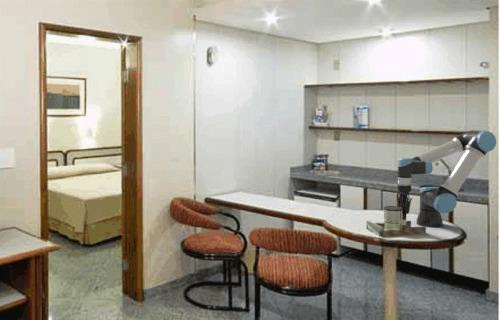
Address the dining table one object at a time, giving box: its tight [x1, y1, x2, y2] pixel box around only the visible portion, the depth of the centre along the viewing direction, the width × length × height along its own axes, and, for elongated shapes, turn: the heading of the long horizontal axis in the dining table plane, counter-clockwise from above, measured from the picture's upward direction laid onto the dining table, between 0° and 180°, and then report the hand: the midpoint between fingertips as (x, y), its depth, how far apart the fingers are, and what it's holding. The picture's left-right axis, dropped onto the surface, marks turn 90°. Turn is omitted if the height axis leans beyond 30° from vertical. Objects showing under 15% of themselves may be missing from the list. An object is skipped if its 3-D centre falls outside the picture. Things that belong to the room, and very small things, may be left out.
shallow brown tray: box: [366, 220, 427, 237], centre depth 269 cm, size 28×18×5 cm, turn 102°
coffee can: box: [383, 205, 403, 229], centre depth 269 cm, size 10×10×14 cm
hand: (403, 224), depth 270 cm, fingers closed
